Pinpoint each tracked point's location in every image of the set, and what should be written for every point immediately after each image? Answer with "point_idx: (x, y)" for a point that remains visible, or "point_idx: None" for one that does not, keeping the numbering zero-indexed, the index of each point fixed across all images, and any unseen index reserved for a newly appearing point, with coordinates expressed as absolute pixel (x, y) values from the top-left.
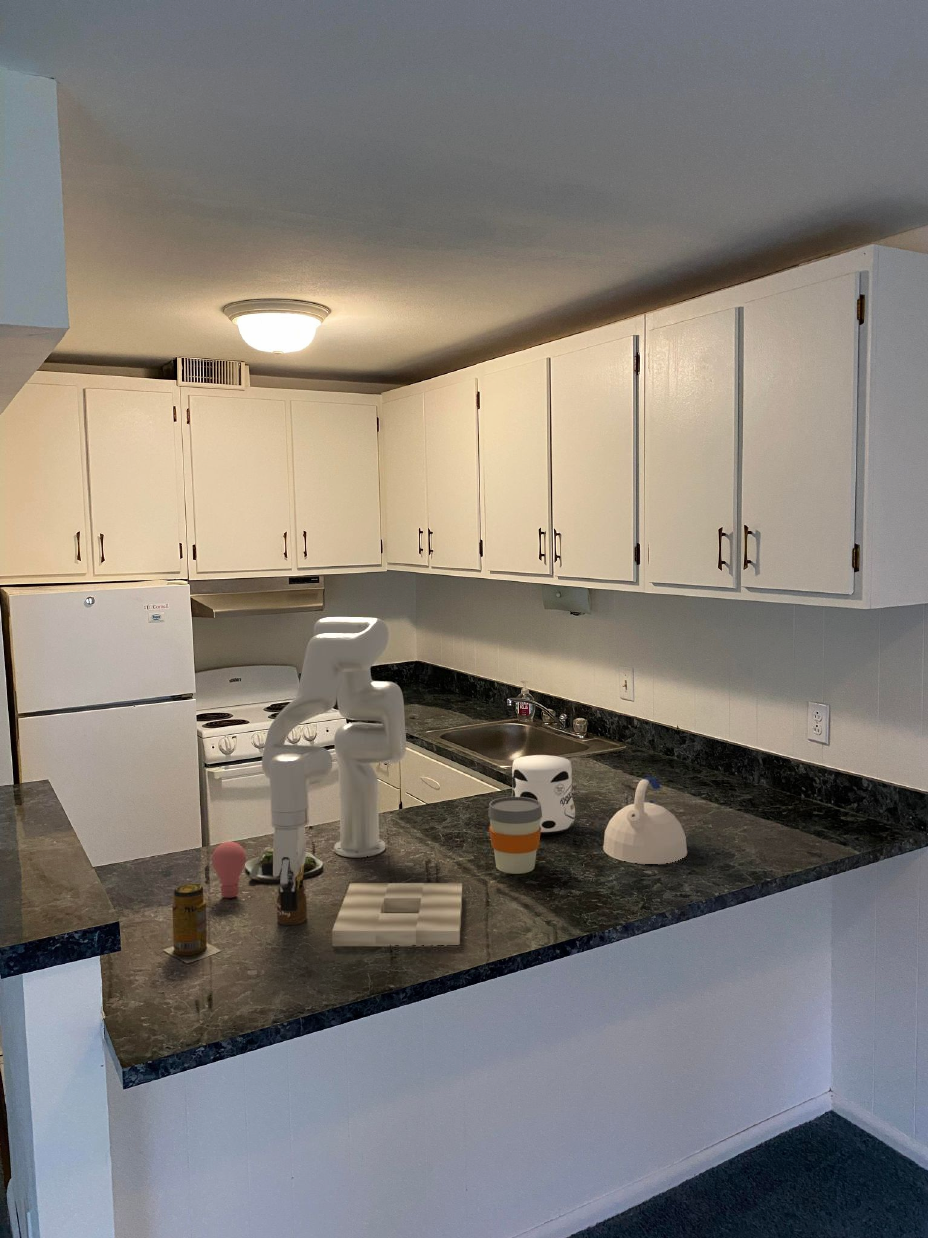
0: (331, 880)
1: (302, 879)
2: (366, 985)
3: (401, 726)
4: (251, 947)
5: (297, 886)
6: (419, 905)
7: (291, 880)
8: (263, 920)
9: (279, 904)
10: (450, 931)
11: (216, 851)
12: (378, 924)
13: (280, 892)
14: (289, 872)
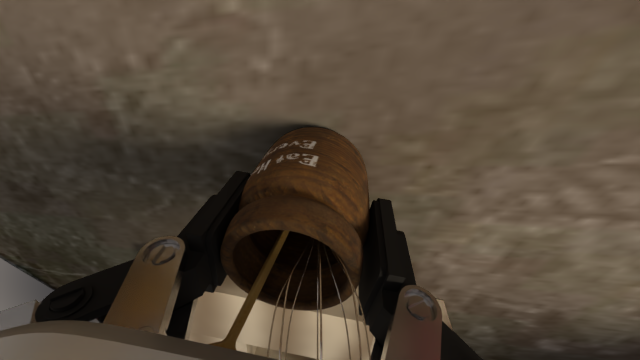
0: (621, 284)
1: (363, 324)
2: (45, 267)
3: None
4: (83, 34)
5: (243, 305)
6: None
7: (374, 286)
8: (333, 64)
9: (256, 173)
10: None
11: None
12: (192, 333)
13: (189, 228)
14: (388, 336)
